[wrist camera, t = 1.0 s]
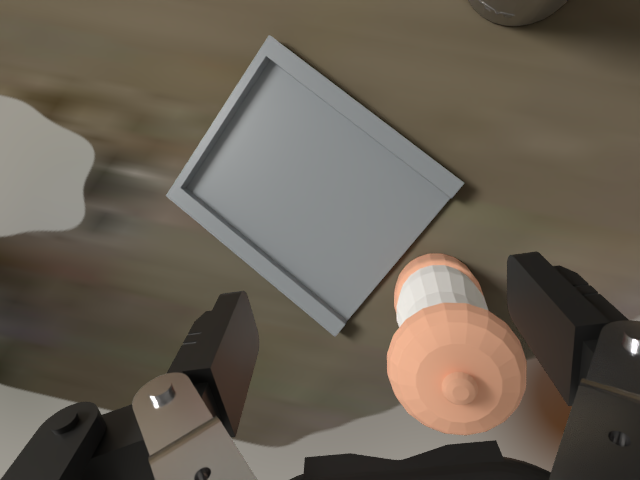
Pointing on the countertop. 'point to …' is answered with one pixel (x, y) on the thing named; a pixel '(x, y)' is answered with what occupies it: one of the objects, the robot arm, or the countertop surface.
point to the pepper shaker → (452, 350)
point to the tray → (310, 186)
